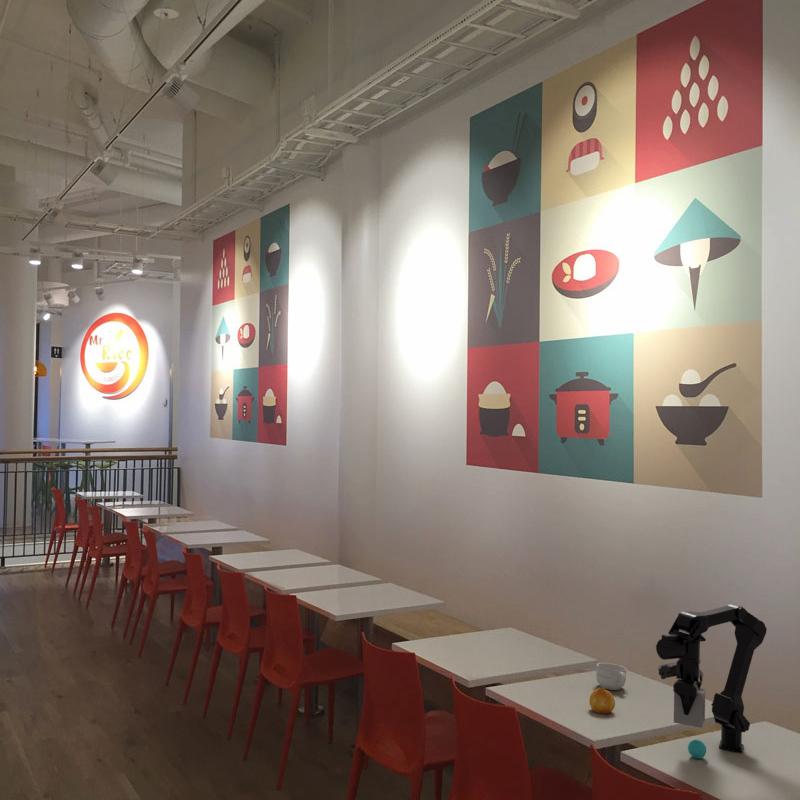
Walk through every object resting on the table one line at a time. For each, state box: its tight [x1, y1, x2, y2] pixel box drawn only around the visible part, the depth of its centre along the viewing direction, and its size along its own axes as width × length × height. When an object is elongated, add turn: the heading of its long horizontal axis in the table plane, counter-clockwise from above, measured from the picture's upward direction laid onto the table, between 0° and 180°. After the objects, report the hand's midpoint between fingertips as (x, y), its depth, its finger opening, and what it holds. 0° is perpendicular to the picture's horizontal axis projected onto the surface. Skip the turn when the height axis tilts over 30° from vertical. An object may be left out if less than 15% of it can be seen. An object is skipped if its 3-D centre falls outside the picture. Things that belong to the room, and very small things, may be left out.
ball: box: [687, 739, 707, 759], centre depth 229 cm, size 5×5×5 cm
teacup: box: [595, 662, 628, 691], centre depth 290 cm, size 14×11×8 cm
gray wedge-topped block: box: [673, 687, 706, 729], centre depth 231 cm, size 8×8×9 cm
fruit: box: [588, 687, 616, 714], centre depth 266 cm, size 8×8×8 cm
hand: (688, 710), depth 231 cm, fingers closed on gray wedge-topped block, 8 cm apart
